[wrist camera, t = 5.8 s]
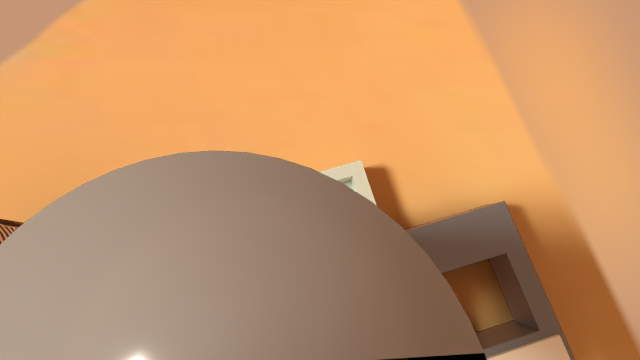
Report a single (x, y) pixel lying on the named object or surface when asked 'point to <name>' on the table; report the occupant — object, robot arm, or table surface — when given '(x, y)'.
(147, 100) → the table surface
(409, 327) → the white and grey cylinder
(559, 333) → the block
